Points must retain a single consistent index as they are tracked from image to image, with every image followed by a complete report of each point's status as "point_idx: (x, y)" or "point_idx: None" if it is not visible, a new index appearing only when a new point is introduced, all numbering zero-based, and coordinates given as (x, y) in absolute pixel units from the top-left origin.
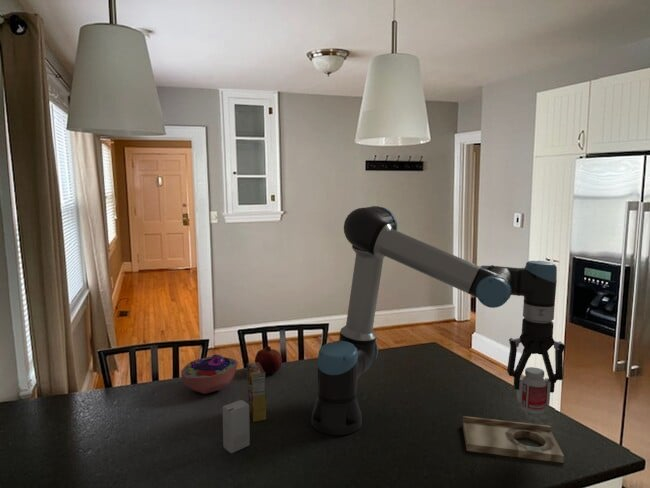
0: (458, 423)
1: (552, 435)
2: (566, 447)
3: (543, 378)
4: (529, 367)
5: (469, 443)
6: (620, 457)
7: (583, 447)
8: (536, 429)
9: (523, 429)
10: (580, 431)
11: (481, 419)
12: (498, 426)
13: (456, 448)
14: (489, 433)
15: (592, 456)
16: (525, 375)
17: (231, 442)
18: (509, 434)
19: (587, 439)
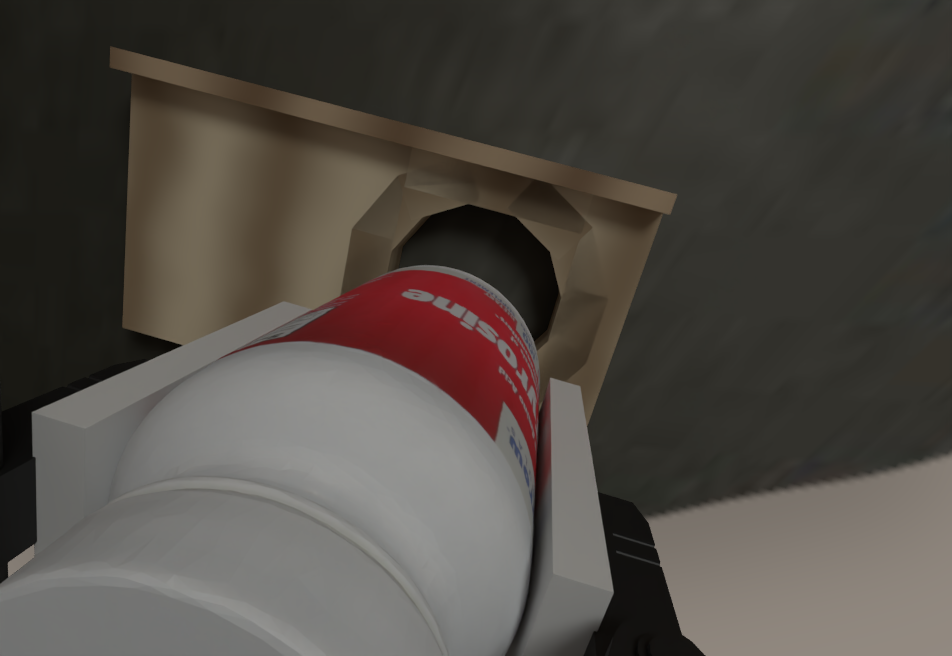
0: (146, 27)
1: (639, 265)
2: (684, 314)
3: (475, 636)
4: (67, 598)
5: (133, 325)
6: (931, 420)
7: (789, 319)
8: (574, 190)
9: (485, 189)
10: (929, 132)
11: (224, 97)
12: (337, 147)
13: (108, 295)
14: (259, 231)
15: (771, 401)
16: (150, 472)
17: None
18: (372, 246)
19: (891, 235)
